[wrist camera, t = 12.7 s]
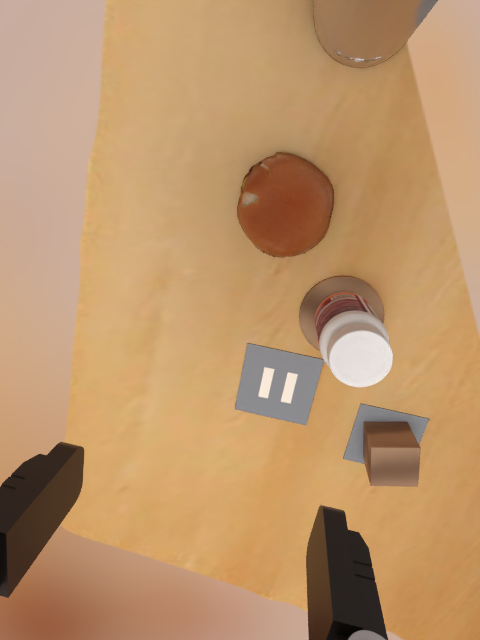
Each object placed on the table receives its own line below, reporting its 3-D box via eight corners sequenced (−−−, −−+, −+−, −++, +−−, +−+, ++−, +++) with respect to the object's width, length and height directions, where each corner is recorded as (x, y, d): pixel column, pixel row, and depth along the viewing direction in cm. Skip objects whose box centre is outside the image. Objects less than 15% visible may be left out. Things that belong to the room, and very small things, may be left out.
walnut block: (363, 421, 47) (371, 447, 42) (407, 421, 46) (420, 447, 41) (363, 457, 48) (370, 485, 43) (405, 457, 47) (418, 486, 43)
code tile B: (360, 403, 46) (360, 404, 46) (429, 418, 46) (429, 419, 45) (343, 458, 49) (343, 458, 49) (407, 473, 48) (407, 473, 48)
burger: (333, 249, 41) (337, 256, 37) (246, 257, 43) (240, 265, 38) (329, 148, 38) (333, 143, 34) (235, 161, 40) (228, 157, 35)
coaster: (309, 268, 42) (310, 269, 41) (393, 285, 41) (395, 286, 41) (291, 344, 45) (291, 346, 44) (369, 361, 44) (370, 363, 44)
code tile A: (247, 343, 46) (247, 343, 46) (324, 359, 45) (324, 360, 45) (234, 408, 49) (234, 409, 48) (306, 425, 48) (306, 425, 48)
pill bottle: (303, 326, 43) (307, 370, 33) (335, 279, 41) (349, 310, 31) (351, 353, 44) (369, 406, 33) (384, 308, 42) (415, 349, 31)
